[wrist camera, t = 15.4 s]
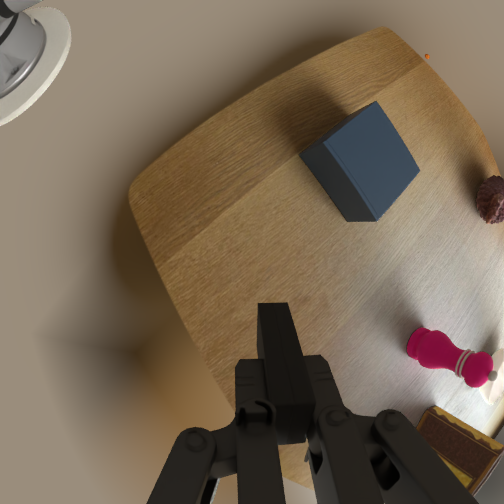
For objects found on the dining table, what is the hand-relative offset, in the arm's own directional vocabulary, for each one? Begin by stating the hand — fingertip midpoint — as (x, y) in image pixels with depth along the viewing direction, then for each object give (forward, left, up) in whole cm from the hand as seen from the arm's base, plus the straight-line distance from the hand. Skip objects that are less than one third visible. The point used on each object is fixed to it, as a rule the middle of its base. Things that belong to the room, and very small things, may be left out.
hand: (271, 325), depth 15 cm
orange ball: (+141, +117, -91) cm, 204 cm away
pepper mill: (+38, -17, -23) cm, 48 cm away
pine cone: (+61, +12, -23) cm, 66 cm away
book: (+47, -48, -23) cm, 71 cm away
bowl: (+79, -37, -23) cm, 90 cm away
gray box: (+16, +10, -19) cm, 27 cm away
